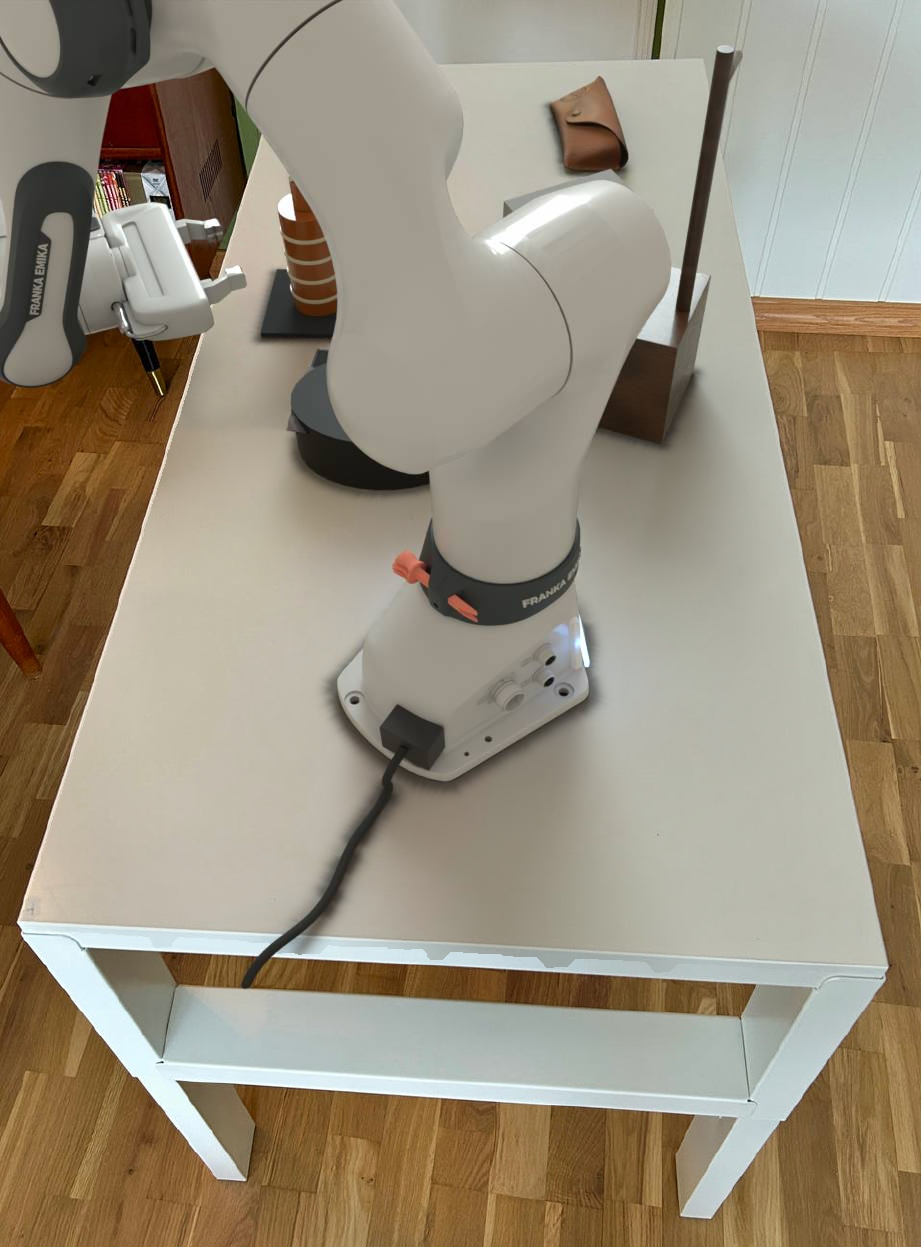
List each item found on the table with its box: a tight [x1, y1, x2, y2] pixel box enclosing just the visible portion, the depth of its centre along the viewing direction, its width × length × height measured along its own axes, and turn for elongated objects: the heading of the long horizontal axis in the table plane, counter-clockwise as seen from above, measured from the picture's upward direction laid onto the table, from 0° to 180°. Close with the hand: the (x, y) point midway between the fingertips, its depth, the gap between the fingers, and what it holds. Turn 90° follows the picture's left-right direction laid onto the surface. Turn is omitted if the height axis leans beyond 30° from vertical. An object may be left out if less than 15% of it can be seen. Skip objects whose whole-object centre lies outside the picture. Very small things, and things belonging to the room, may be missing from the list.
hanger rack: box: [597, 44, 744, 445], centre depth 99 cm, size 12×12×36 cm
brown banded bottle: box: [276, 175, 337, 317], centre depth 117 cm, size 6×6×16 cm
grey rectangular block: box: [502, 169, 654, 218], centre depth 129 cm, size 10×4×15 cm
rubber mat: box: [260, 268, 337, 339], centre depth 123 cm, size 12×12×1 cm
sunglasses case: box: [548, 75, 630, 172], centre depth 143 cm, size 18×7×7 cm
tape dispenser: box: [286, 348, 430, 491], centre depth 107 cm, size 14×18×8 cm
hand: (232, 251), depth 114 cm, fingers open, 8 cm apart
